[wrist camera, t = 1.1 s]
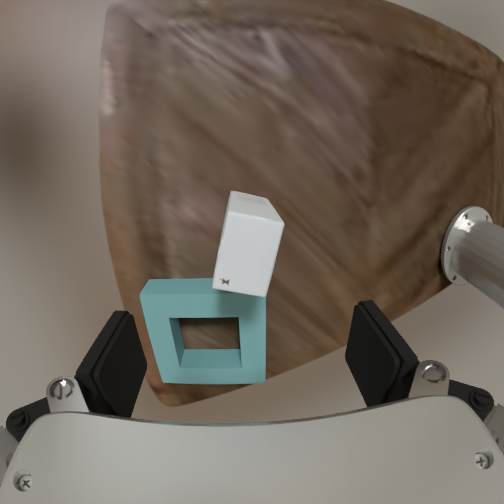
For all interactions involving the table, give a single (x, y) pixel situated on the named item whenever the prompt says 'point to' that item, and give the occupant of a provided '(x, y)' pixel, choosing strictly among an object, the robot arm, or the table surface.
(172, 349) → the hollow square block
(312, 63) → the table surface
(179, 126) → the table surface
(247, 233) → the skincare box
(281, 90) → the table surface
